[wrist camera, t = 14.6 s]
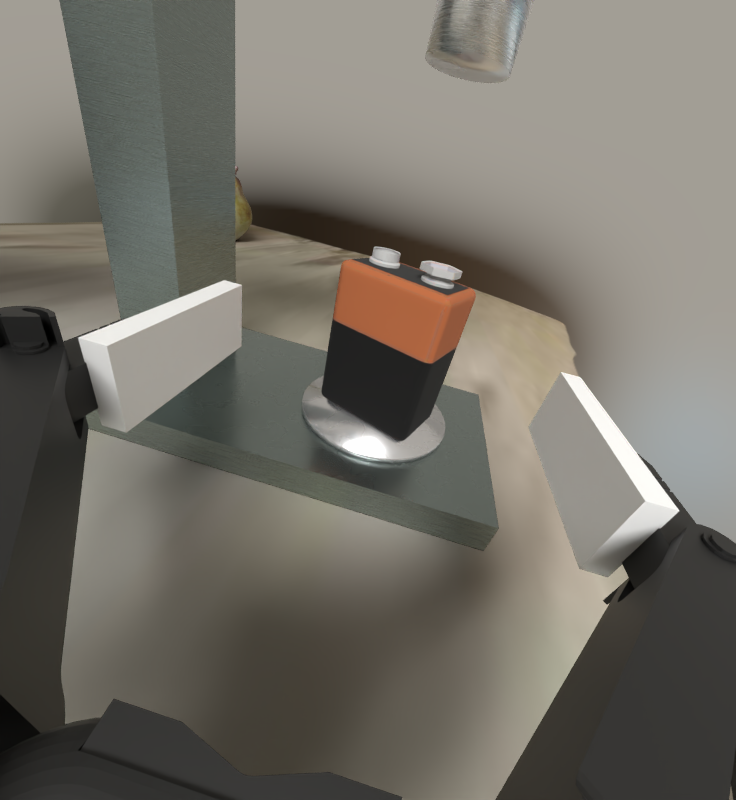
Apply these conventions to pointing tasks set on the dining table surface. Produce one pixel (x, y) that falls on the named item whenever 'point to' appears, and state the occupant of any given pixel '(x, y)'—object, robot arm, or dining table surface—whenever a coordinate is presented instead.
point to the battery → (393, 339)
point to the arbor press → (215, 261)
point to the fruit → (241, 210)
